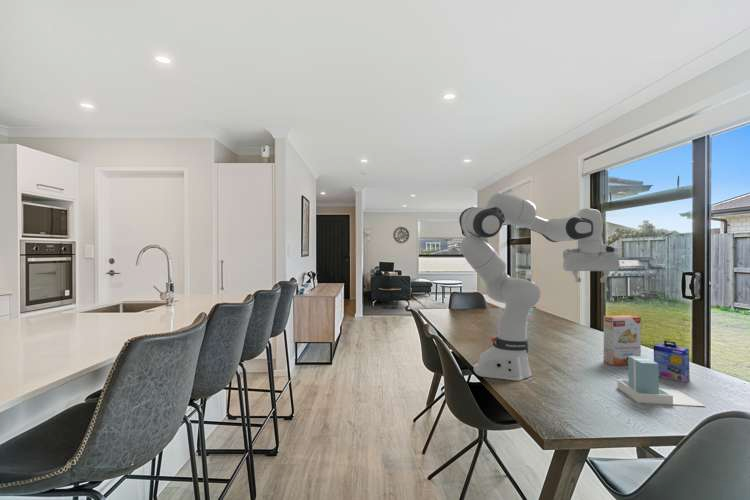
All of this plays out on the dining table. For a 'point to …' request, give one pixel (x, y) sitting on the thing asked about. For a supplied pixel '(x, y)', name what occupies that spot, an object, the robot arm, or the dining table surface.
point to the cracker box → (621, 338)
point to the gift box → (643, 375)
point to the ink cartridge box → (672, 361)
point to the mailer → (658, 396)
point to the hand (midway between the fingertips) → (590, 282)
